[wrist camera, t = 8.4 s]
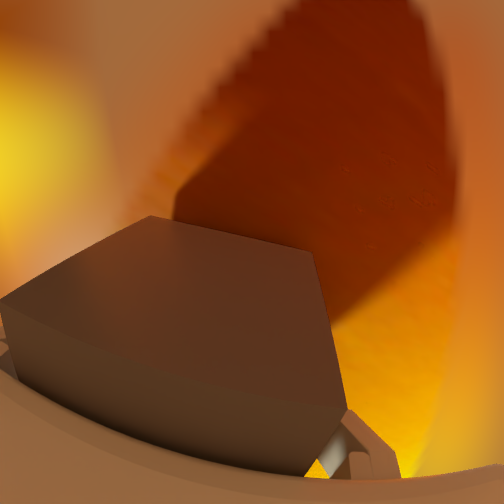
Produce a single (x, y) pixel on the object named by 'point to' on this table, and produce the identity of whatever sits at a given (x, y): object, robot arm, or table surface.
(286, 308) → the matte grey cube
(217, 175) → the table surface
